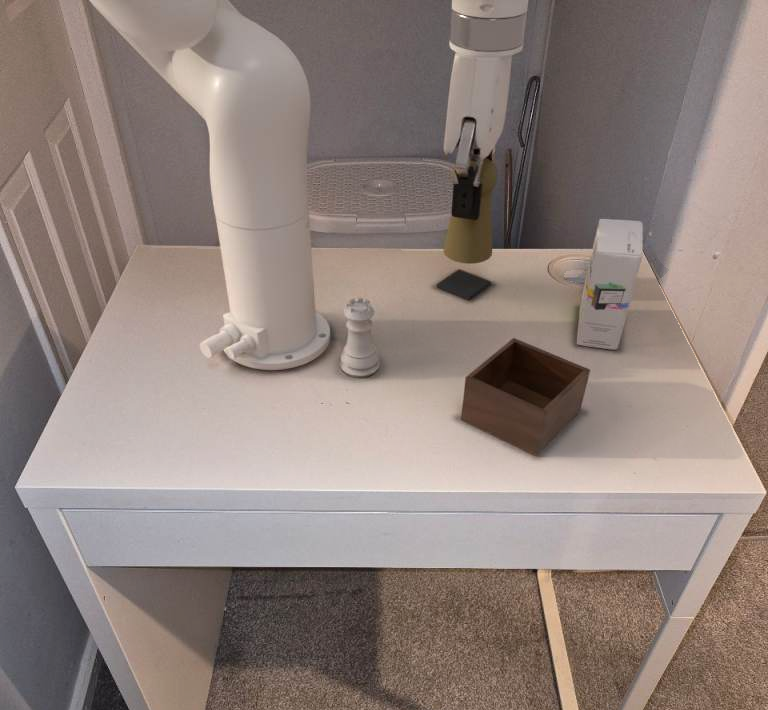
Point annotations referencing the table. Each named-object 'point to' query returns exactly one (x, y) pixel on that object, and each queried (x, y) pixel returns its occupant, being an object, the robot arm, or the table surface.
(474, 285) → the rubber pad
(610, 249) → the ink box
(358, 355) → the rook chess piece
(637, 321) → the table surface
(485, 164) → the olive yellow pawn
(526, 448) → the walnut box
